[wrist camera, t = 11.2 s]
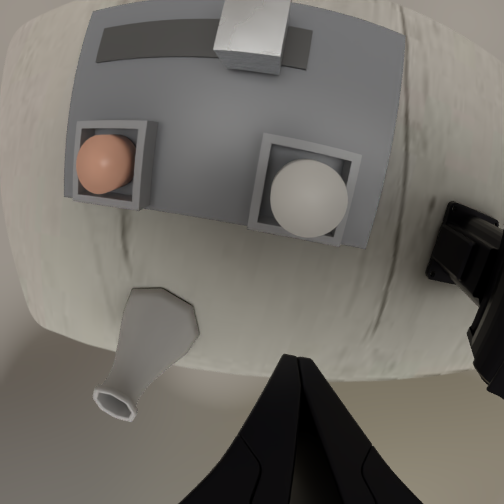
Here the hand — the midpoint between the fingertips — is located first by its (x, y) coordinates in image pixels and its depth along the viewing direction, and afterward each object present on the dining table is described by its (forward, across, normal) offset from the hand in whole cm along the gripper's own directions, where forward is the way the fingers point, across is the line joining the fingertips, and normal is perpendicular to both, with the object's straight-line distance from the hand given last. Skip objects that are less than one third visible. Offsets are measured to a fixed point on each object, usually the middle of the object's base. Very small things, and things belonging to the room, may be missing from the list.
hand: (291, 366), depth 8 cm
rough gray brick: (+10, +4, -12) cm, 16 cm away
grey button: (+9, 0, -3) cm, 9 cm away
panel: (+13, +6, -8) cm, 16 cm away
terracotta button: (+10, +12, -3) cm, 16 cm away
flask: (+13, +8, +10) cm, 19 cm away
